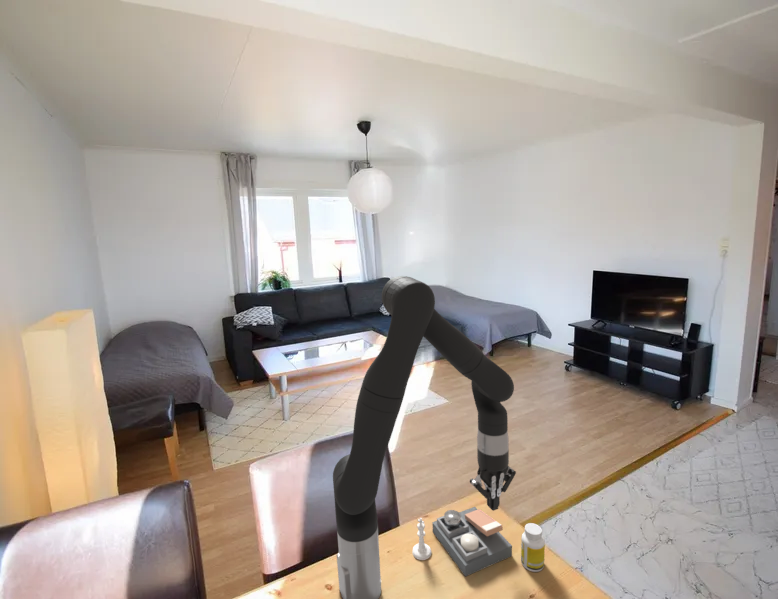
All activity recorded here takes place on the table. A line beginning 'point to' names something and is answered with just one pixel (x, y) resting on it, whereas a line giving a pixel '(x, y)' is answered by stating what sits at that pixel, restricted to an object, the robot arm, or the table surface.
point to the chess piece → (421, 544)
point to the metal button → (452, 519)
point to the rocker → (483, 522)
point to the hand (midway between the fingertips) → (493, 507)
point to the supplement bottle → (532, 548)
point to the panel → (486, 555)
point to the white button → (469, 543)
